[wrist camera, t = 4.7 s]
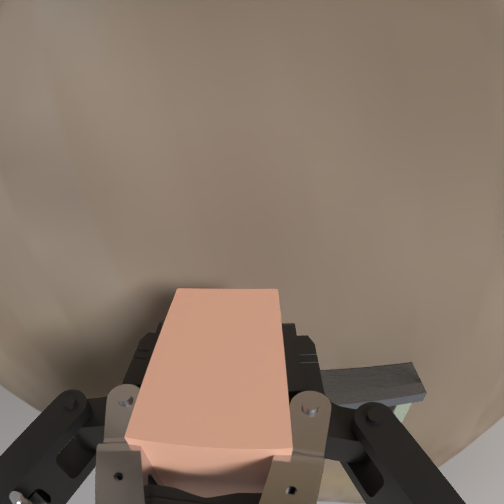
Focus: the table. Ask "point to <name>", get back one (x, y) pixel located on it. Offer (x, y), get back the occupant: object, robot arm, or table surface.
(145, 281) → the table surface
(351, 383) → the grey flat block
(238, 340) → the salmon pink block
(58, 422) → the robot arm
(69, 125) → the table surface
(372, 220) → the table surface
